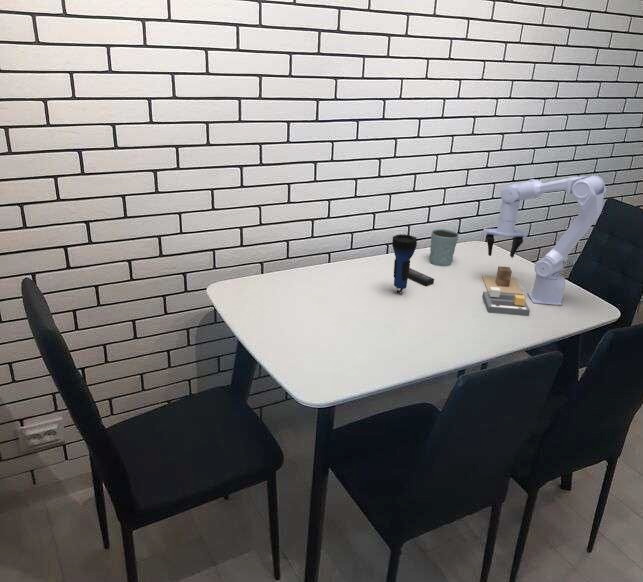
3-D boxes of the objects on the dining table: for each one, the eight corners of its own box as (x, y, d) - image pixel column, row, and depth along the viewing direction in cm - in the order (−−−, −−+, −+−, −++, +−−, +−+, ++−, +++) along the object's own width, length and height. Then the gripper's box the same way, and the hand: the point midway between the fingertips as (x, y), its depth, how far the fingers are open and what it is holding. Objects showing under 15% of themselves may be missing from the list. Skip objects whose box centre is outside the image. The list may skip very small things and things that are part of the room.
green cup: (423, 258, 227) (426, 229, 222) (445, 256, 231) (449, 228, 226) (436, 268, 219) (440, 238, 214) (459, 265, 222) (463, 236, 217)
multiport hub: (425, 287, 203) (426, 281, 202) (396, 274, 213) (396, 268, 212) (433, 284, 205) (434, 278, 204) (404, 271, 216) (405, 265, 215)
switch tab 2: (522, 302, 188) (523, 295, 187) (524, 305, 186) (525, 298, 185) (513, 301, 189) (514, 294, 188) (514, 305, 186) (516, 298, 185)
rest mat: (514, 279, 212) (515, 278, 212) (522, 295, 199) (523, 293, 199) (481, 277, 213) (482, 275, 213) (487, 292, 200) (488, 291, 200)
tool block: (506, 282, 208) (509, 267, 205) (508, 287, 204) (511, 271, 201) (495, 281, 208) (498, 266, 205) (497, 286, 204) (500, 270, 202)
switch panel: (520, 300, 196) (522, 294, 195) (528, 315, 185) (530, 309, 184) (482, 296, 197) (483, 291, 196) (487, 312, 186) (488, 306, 185)
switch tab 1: (497, 294, 193) (499, 287, 192) (499, 297, 191) (500, 290, 190) (488, 293, 194) (490, 286, 193) (490, 296, 191) (491, 289, 190)
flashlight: (385, 296, 194) (391, 240, 185) (388, 287, 201) (394, 232, 192) (409, 299, 192) (416, 243, 184) (411, 290, 199) (418, 235, 191)
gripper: (526, 217, 202) (519, 253, 207) (484, 214, 203) (478, 250, 208) (531, 223, 195) (523, 260, 201) (487, 220, 196) (481, 257, 202)
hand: (500, 255), depth 204 cm, fingers open, 7 cm apart
